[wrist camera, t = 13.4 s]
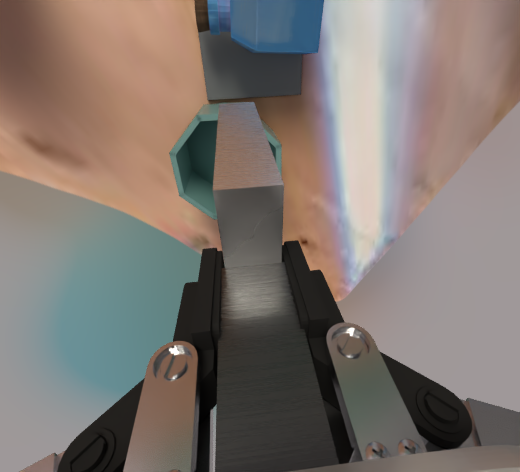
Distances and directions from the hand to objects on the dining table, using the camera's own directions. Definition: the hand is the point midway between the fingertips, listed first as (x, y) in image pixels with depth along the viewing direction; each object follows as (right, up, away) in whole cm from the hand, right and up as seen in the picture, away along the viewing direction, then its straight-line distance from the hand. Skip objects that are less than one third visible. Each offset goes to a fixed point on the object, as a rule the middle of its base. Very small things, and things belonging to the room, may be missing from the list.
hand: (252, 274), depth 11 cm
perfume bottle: (+6, +24, +16) cm, 30 cm away
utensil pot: (-4, +14, +26) cm, 30 cm away
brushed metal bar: (-1, +6, +7) cm, 9 cm away
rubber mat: (-1, +23, +20) cm, 31 cm away
